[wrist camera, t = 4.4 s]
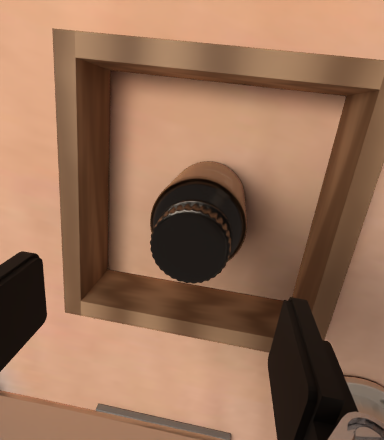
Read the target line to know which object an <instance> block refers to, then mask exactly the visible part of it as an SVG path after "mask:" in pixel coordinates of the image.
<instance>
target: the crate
mask: <svg viewBox="0 0 384 440" xmlns="http://www.w3.org/2000/svg"><path fill="white" fill-rule="evenodd" d="M52 30H53V52H54V75H55V98H56V120H57V143H58V165H59V188H60V211H61V233H62V256H63V278H64V301H65V312H66V313H71V314H76V315H81V316H86V317H91V318H96V319H101V320H106V321H111V322H117V323H122V324H127V325H132V326H137V327H142V328H147V329H152V330H157V331H162V332H167V333H173V334H178V335H183V336H188V337H193V338H198V339H203V340H208V341H213V342H218V343H223V344H228V345H234V346H239V347H244V348H249V349H254V350H259V351H264V352H269V353H270V349H271V345H272V342H273V338H274V334H275V330H276V327H277V323H278V319H279V315H280V312H281V308H282V304H283V301H280V300H275V299H269V298H263V297H258V296H252V295H247V294H241V293H235V292H230V291H224V290H219V289H213V288H207V287H202V286H196V285H191V284H185V283H179V282H174V281H168V280H163V279H157V278H151V277H146V276H140V275H135V274H129V273H123V272H118V271H112V270H108V208H109V141H110V74H111V70H113V71H123V72H132V73H141V74H150V75H159V76H169V77H178V78H187V79H196V80H206V81H215V82H224V83H233V84H242V85H252V86H261V87H270V88H279V89H288V90H298V91H307V92H316V93H325V94H334V95H344V96H346V100H345V104H344V107H343V111H342V115H341V118H340V122H339V126H338V130H337V133H336V137H335V141H334V144H333V148H332V152H331V155H330V159H329V163H328V167H327V170H326V174H325V178H324V181H323V185H322V189H321V192H320V196H319V200H318V204H317V207H316V211H315V215H314V218H313V222H312V226H311V229H310V233H309V237H308V240H307V244H306V248H305V252H304V255H303V259H302V263H301V266H300V270H299V274H298V277H297V281H296V285H295V289H294V292H293V296H292V297H293V298H299V299H305V300H307V301H308V304H309V306H310V309H311V311H312V314H313V317H314V319H315V322H316V325H317V327H318V330H319V332H320V335H321V338H322V340H323V341H324V339H325V336H326V333H327V330H328V327H329V324H330V321H331V318H332V315H333V312H334V309H335V306H336V303H337V300H338V297H339V294H340V291H341V288H342V285H343V282H344V279H345V276H346V273H347V270H348V267H349V264H350V261H351V258H352V255H353V252H354V249H355V246H356V243H357V240H358V237H359V234H360V231H361V228H362V225H363V222H364V219H365V216H366V213H367V210H368V208H369V205H370V202H371V199H372V196H373V193H374V190H375V187H376V184H377V181H378V178H379V175H380V172H381V169H382V166H383V163H384V60H376V59H365V58H355V57H344V56H334V55H324V54H313V53H303V52H292V51H282V50H271V49H261V48H250V47H240V46H230V45H219V44H209V43H198V42H188V41H177V40H167V39H157V38H146V37H136V36H125V35H115V34H104V33H94V32H84V31H73V30H63V29H52Z"/></svg>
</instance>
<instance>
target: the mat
mask: <svg viewBox="0 0 384 440" xmlns="http://www.w3.org/2000/svg"><path fill="white" fill-rule="evenodd" d="M96 411H99V412H104V413H108V414H113V415H118V416H122V417H127V418H131V419H136V420H140V421H145V422H149V423H154V424H158V425H163V426H167V427H172V428H177V429H181V430H186V431H190V432H195V433H199V434H204V435H208V436H212V437H216V438H220V439H224V440H230V439H231V434H230V433H226V432H221V431H217V430H212V429H208V428H204V427H199V426H195V425H190V424H186V423H181V422H177V421H173V420H168V419H164V418H159V417H155V416H151V415H146V414H142V413H137V412H133V411H129V410H124V409H120V408H115V407H111V406H106V405H102V404H98V406H97V408H96Z"/></svg>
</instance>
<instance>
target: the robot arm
mask: <svg viewBox="0 0 384 440" xmlns="http://www.w3.org/2000/svg"><path fill="white" fill-rule="evenodd" d="M46 317H47V310H46V298H45V286H44V274H43V262H42V259H41V258H39V256H38V255H37V254H35V253H29V252H19V253H18V254H16V255H15V256H13V257H12V258H10V259H9V260H7V261H6V262H4V263H3V264H1V265H0V372H1V370H2V369H3V368H4V367H5V366H6V365H7V364H8V363H9V361H10V360H11V359H12V358H13V357H14V356H15V355H16V354H17V353H18V351H19V350H20V349H21V348H22V347H23V346H24V345H25V344H26V343H27V341H28V340H29V339H30V338H31V337H32V336H33V335H34V334H35V333H36V331H37V330H38V329H39V328H40V327H41V326H42V325H43V323H44V322H45V320H46ZM268 370H269V378H270V386H271V394H272V401H273V409H274V417H275V424H276V432H277V440H384V388H383V387H381V386H380V385H378V384H376V383H374V382H371V381H368V380H365V379H361V378H356V377H345V376H344V375H343V372H342V370H341V368H340V365H339V363H338V360H337V358H336V355H335V353H334V351H333V348H332V346H331V344H330V343H329V342H328V341H323V340H322V338H321V335H320V332H319V330H318V327H317V325H316V322H315V319H314V317H313V314H312V311H311V309H310V306H309V304H308V301H307V300H305V299H299V298H293V297H290V298H289V300H288V301H287V300H284V301H283V304H282V308H281V312H280V315H279V319H278V323H277V327H276V330H275V334H274V338H273V342H272V345H271V349H270V353H269V357H268ZM0 440H224V439H220V438H216V437H212V436H208V435H204V434H199V433H195V432H190V431H186V430H181V429H177V428H172V427H167V426H163V425H158V424H154V423H149V422H145V421H140V420H136V419H131V418H127V417H122V416H118V415H113V414H108V413H104V412H99V411H95V410H90V409H85V408H81V407H76V406H71V405H67V404H62V403H57V402H53V401H48V400H43V399H39V398H34V397H29V396H25V395H20V394H15V393H10V392H5V391H1V390H0Z"/></svg>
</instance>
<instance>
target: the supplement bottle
mask: <svg viewBox="0 0 384 440" xmlns="http://www.w3.org/2000/svg"><path fill="white" fill-rule="evenodd" d="M150 226H151V232H152V234H151V241H150V244H151V252H152V253H153V254H152V257H153V258H154V259H155V263H156V264H157V265H158V266H159V268H160V269H161V270H162V271H164V273H165V274H166V275H169V276H170V277H171V278H173V279H177V280H178V281H183V282H185V283H190V282H191V283H197V282H199V283H202V282H203V281H208V280H210V279H211V278H213V277H215V276H216V275H217V274H219V273H221V271H222V269H223V268H224V267H225V266H226V262H228V261H229V260H230V259H232V258H233V257H234V256H235V255H236V254H237V252H238V251H239V250H240V248H241V246H242V244H243V242H244V239H245V236H246V230H247V216H246V204H245V195H244V189H243V186H242V183H241V181H240V179H239V178H238V176H237V175H236V174H235V173H234V172H233V171H232V170H231V169H230V168H228V167H226V166H225V165H223V164H220V163H216V162H209V161H207V162H199V163H196V164H193V165H191V166H189V167H188V168H186V169H185V170H184V171H183V172H182V173H180V174H179V175H178V176H177V177H176V178H175V179H174V180H173V181H172V182H171V183H170V184H169V185H168V186H167V187H166V188H165V189H164V190H163V192H162V193H161V194H160V195H159V197H158V198H157V200H156V201H155V203H154V206H153V208H152V212H151V219H150Z"/></svg>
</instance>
